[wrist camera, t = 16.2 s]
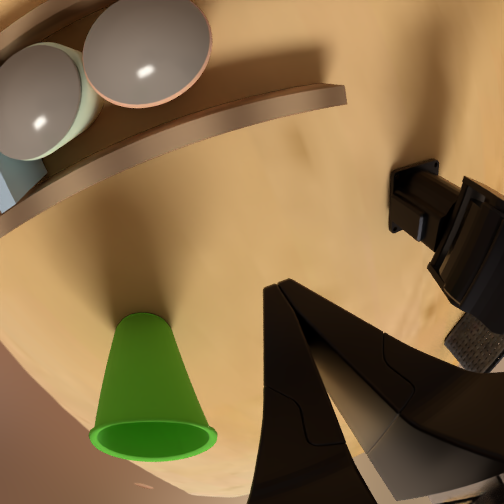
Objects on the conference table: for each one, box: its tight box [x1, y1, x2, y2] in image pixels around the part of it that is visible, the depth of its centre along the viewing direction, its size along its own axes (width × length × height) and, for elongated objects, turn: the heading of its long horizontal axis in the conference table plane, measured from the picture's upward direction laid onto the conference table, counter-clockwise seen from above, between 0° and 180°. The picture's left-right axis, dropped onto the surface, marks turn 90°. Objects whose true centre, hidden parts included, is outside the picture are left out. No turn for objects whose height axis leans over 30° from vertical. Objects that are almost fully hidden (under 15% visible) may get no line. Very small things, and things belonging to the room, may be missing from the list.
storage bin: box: [444, 312, 504, 373], centre depth 45 cm, size 29×19×13 cm
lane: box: [0, 0, 347, 238], centre depth 11 cm, size 27×11×4 cm, turn 104°
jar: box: [82, 0, 212, 108], centre depth 11 cm, size 6×6×5 cm
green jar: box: [0, 42, 105, 161], centre depth 10 cm, size 6×6×5 cm
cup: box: [89, 313, 217, 462], centre depth 20 cm, size 9×9×11 cm
